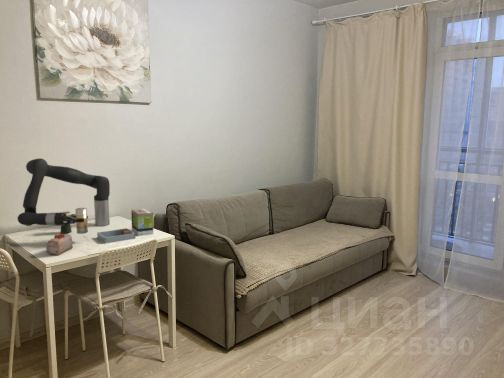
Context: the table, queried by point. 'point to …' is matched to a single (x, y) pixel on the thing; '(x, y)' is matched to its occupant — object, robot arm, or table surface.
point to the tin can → (81, 226)
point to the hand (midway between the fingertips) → (85, 218)
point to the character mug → (66, 225)
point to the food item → (59, 244)
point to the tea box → (142, 222)
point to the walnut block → (125, 231)
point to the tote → (114, 236)
